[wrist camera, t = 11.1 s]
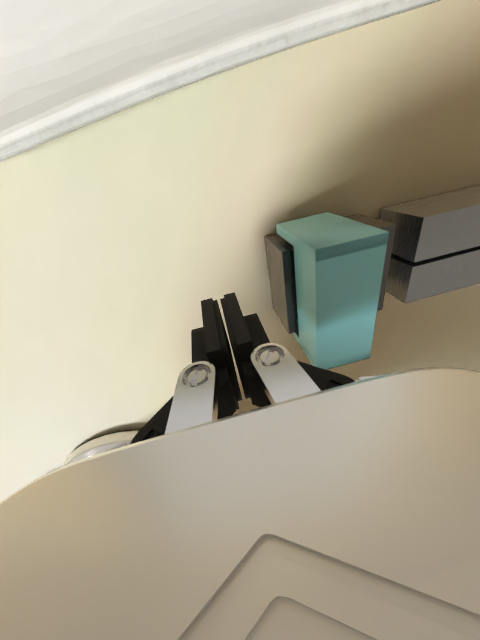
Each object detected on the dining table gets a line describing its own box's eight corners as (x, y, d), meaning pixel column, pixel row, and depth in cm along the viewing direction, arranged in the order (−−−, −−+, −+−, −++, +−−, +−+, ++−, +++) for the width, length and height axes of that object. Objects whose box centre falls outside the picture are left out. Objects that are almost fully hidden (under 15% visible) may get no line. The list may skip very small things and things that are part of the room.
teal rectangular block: (285, 322, 17) (316, 372, 13) (275, 224, 13) (315, 249, 9) (325, 311, 17) (369, 357, 13) (327, 211, 14) (388, 231, 9)
